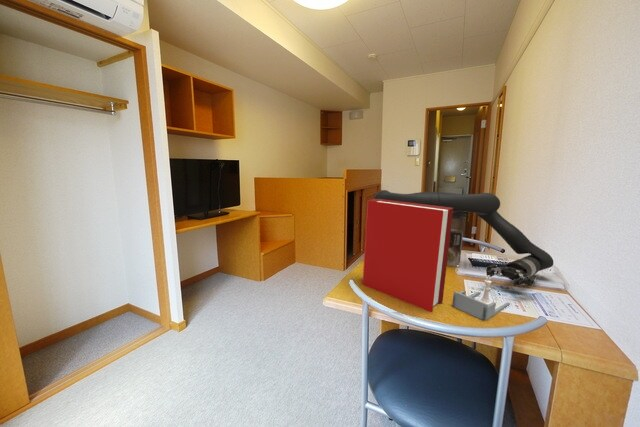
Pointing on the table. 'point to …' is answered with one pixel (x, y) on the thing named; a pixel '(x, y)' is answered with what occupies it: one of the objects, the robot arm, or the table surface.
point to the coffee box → (455, 247)
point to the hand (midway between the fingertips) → (501, 278)
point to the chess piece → (486, 291)
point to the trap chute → (475, 305)
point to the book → (407, 250)
